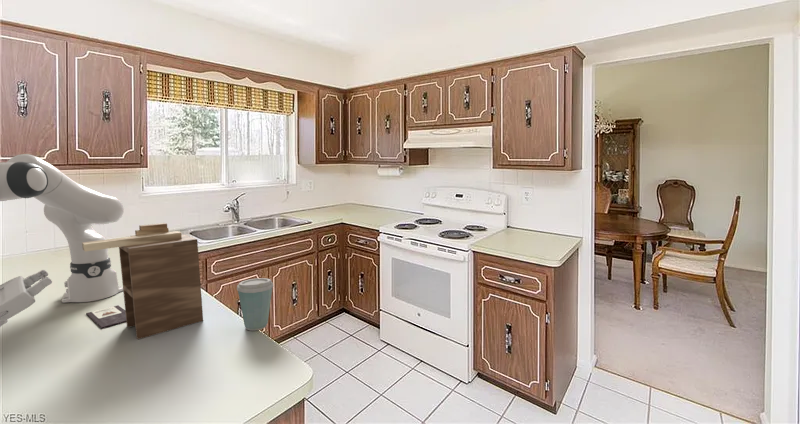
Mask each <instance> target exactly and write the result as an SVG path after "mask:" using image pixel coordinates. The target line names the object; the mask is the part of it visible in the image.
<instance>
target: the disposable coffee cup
mask: <svg viewBox="0 0 800 424" xmlns="http://www.w3.org/2000/svg"><path fill="white" fill-rule="evenodd" d="M273 288H274V283H273V282H272V279H270V278H267V277H266V278H265V277H261V278H260V277H259V278H249V279H246V280H245V279H244V280H242V281H240V282H239V283H238V284H237V285H236V290H237V294H238V297H239V298H238V300H239V302H240V303H239V304H240V310H241V314H242V319H243V320H242V321H243V324H244V328H245V329H246V330H247V331H260V330H263V329H265V328H266V327H267V326H268V323H269V316H270V310H271V309H270V308H271V302H272V294H273ZM256 329H257V330H256Z"/></svg>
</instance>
